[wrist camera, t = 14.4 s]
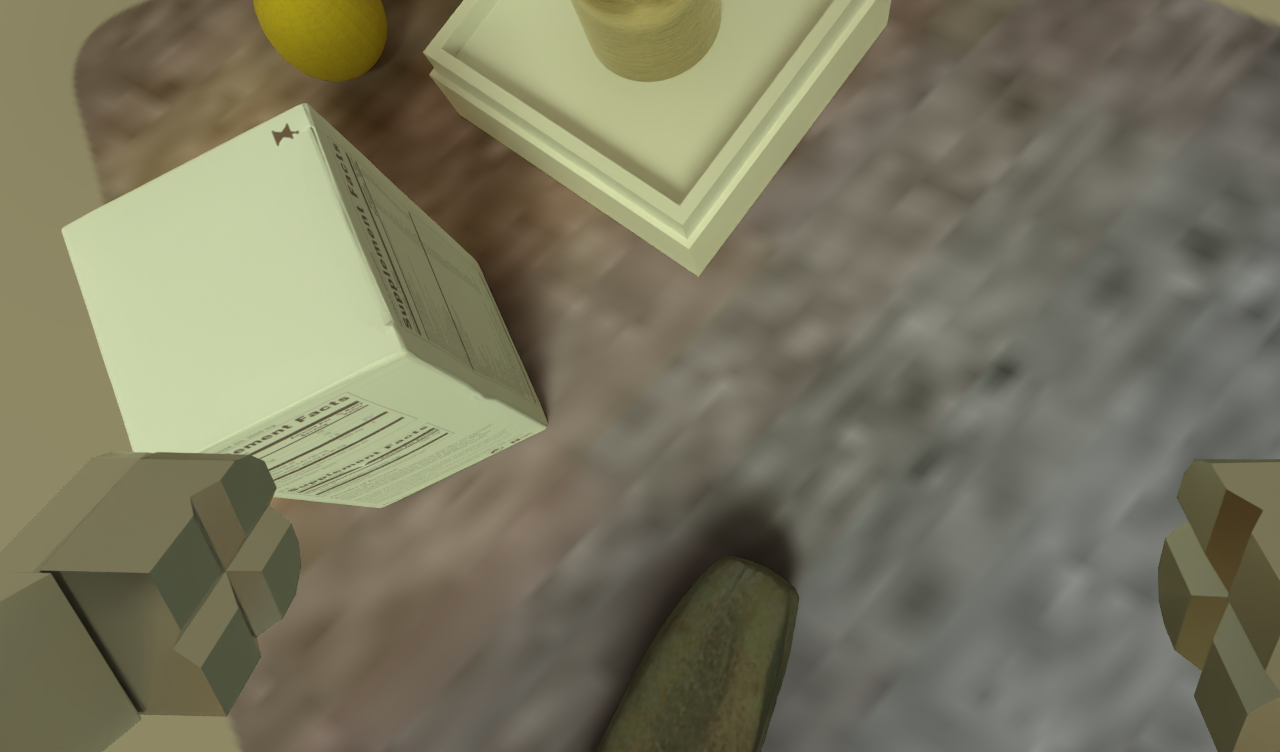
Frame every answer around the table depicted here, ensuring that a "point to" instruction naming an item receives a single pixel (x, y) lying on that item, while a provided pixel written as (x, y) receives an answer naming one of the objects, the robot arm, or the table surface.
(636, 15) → the cylinder
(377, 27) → the lemon
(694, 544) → the table surface
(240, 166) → the supplement box
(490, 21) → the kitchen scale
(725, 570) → the decorative stone
